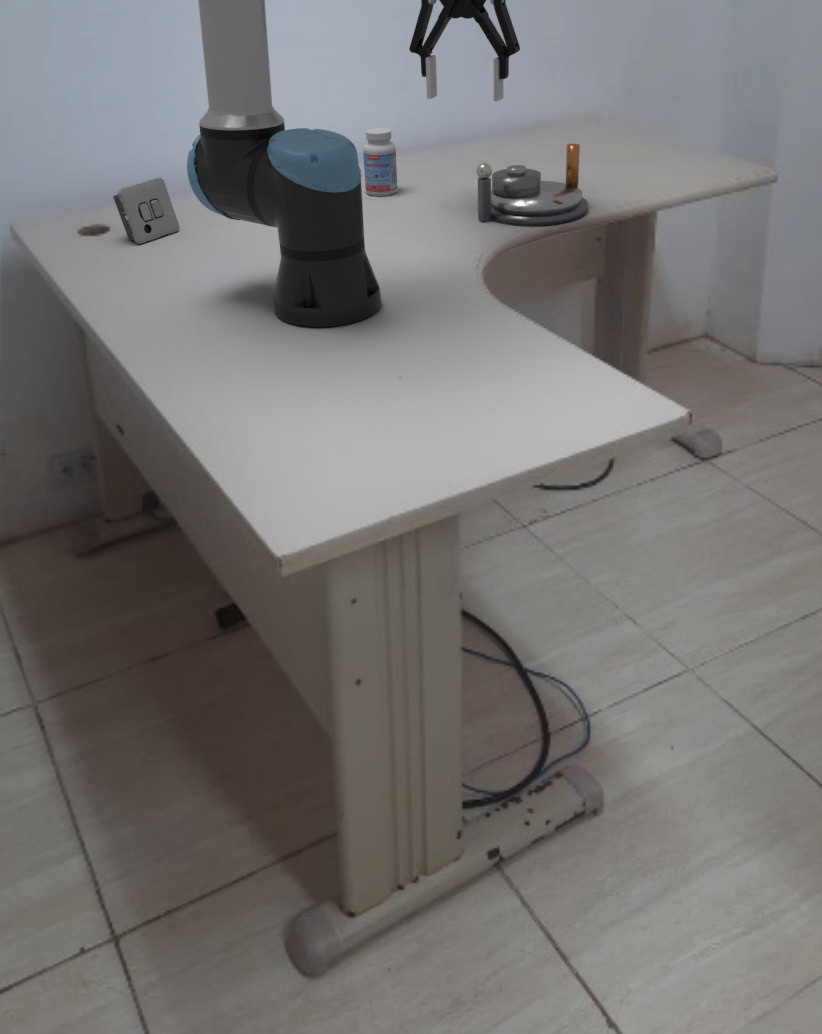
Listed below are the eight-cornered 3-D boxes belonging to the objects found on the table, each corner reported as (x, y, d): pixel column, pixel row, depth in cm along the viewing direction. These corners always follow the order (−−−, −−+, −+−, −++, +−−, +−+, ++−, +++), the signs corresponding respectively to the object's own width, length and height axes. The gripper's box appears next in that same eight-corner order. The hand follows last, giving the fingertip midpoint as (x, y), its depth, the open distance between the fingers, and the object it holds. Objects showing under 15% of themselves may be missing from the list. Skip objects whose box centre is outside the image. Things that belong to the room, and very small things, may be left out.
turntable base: (608, 214, 182) (608, 207, 181) (518, 232, 175) (518, 225, 174) (550, 190, 195) (550, 184, 195) (465, 207, 189) (465, 200, 188)
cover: (549, 193, 183) (550, 168, 181) (508, 201, 180) (508, 176, 178) (524, 182, 190) (524, 158, 187) (483, 190, 187) (483, 166, 184)
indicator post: (495, 221, 181) (494, 163, 176) (481, 224, 180) (481, 165, 175) (487, 217, 183) (487, 160, 178) (474, 220, 182) (473, 162, 177)
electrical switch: (139, 246, 179) (125, 190, 174) (120, 244, 182) (106, 189, 177) (181, 231, 185) (169, 177, 180) (162, 230, 188) (150, 176, 184)
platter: (603, 204, 181) (605, 153, 177) (520, 220, 175) (520, 168, 171) (552, 183, 194) (553, 135, 189) (472, 198, 188) (472, 149, 183)
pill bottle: (361, 196, 198) (357, 134, 192) (371, 187, 203) (367, 126, 197) (392, 197, 197) (388, 134, 191) (402, 188, 202) (398, 127, 196)
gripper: (541, -50, 167) (538, 96, 179) (403, -48, 176) (409, 91, 187) (526, -46, 161) (524, 105, 173) (384, -43, 170) (392, 100, 181)
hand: (464, 98), depth 180 cm, fingers open, 11 cm apart
